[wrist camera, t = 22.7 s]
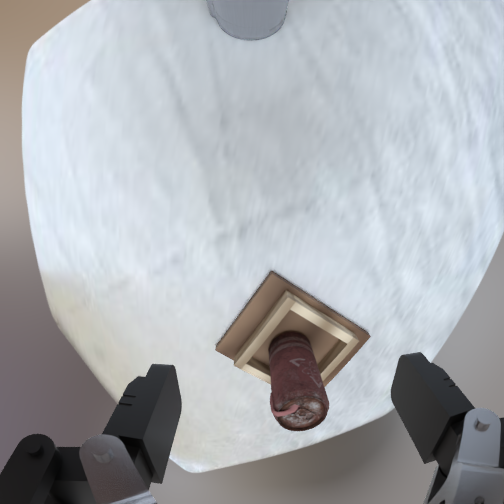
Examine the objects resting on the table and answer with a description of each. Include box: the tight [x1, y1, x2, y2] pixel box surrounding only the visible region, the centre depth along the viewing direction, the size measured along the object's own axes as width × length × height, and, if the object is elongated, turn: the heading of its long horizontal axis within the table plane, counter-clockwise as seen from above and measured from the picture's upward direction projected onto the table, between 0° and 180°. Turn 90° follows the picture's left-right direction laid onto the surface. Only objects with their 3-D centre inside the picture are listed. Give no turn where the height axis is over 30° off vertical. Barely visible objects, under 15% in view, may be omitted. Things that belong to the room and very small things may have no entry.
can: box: [268, 332, 329, 431], centre depth 35 cm, size 6×6×14 cm
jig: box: [215, 271, 371, 387], centre depth 41 cm, size 18×14×4 cm
